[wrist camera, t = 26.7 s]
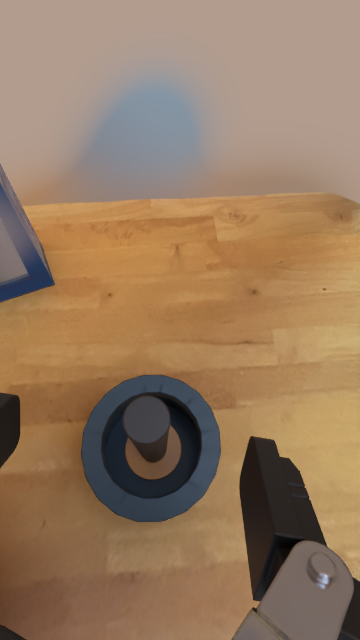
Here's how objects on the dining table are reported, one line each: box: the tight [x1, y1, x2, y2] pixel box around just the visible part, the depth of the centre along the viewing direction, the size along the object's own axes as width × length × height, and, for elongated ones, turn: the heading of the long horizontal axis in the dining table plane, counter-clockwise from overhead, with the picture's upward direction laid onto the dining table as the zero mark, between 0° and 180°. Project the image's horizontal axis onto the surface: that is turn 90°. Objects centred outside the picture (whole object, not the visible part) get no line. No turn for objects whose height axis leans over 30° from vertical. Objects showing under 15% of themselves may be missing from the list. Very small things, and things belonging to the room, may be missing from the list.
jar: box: [81, 375, 221, 522], centre depth 28 cm, size 10×10×9 cm
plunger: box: [122, 396, 182, 480], centre depth 23 cm, size 5×5×18 cm
